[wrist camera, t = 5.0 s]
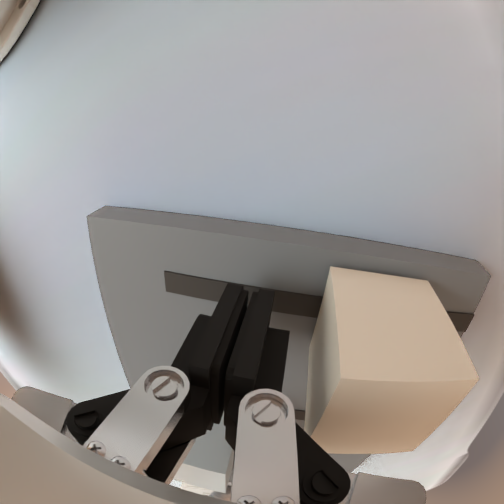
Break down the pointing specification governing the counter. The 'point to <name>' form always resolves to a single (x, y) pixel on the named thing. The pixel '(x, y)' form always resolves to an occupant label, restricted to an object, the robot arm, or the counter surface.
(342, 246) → the panel
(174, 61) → the counter surface
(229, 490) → the lever
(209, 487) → the white cube
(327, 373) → the cream slider
